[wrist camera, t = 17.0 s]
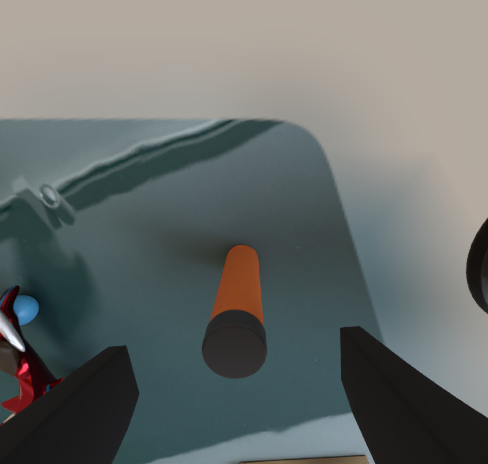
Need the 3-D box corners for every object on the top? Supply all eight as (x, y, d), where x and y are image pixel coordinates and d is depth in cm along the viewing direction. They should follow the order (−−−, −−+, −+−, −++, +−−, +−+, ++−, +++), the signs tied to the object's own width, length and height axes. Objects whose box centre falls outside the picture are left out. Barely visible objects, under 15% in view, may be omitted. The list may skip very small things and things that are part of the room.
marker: (257, 242, 17) (263, 321, 9) (260, 273, 18) (269, 377, 9) (223, 245, 17) (196, 327, 9) (228, 276, 18) (206, 382, 9)
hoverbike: (82, 412, 22) (25, 496, 16) (-10, 296, 19) (-115, 350, 13) (133, 393, 21) (92, 474, 15) (46, 270, 18) (-42, 315, 13)
